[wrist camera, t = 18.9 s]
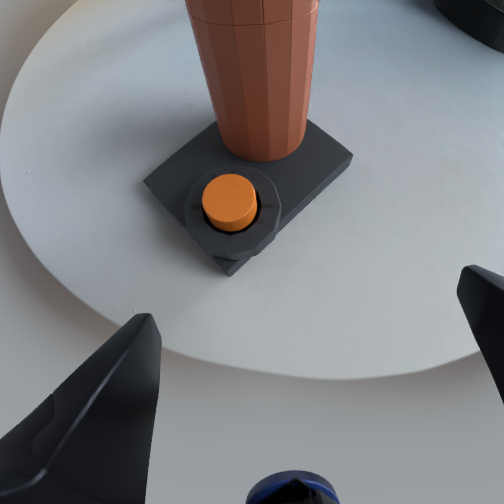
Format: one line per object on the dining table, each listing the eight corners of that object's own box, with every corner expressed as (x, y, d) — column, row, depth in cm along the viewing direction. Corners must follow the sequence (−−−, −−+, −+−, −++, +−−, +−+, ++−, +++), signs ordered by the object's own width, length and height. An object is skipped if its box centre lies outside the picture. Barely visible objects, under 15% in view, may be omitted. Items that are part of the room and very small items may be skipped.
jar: (235, 174, 22) (195, 3, 8) (211, 112, 24) (171, -34, 10) (318, 147, 22) (347, -18, 9) (284, 91, 24) (284, -54, 10)
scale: (234, 283, 22) (227, 273, 18) (149, 190, 24) (132, 169, 21) (354, 169, 23) (364, 145, 20) (263, 100, 26) (261, 73, 22)
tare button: (230, 242, 19) (226, 232, 17) (197, 209, 20) (191, 197, 18) (267, 208, 20) (266, 196, 18) (233, 177, 20) (230, 164, 19)
